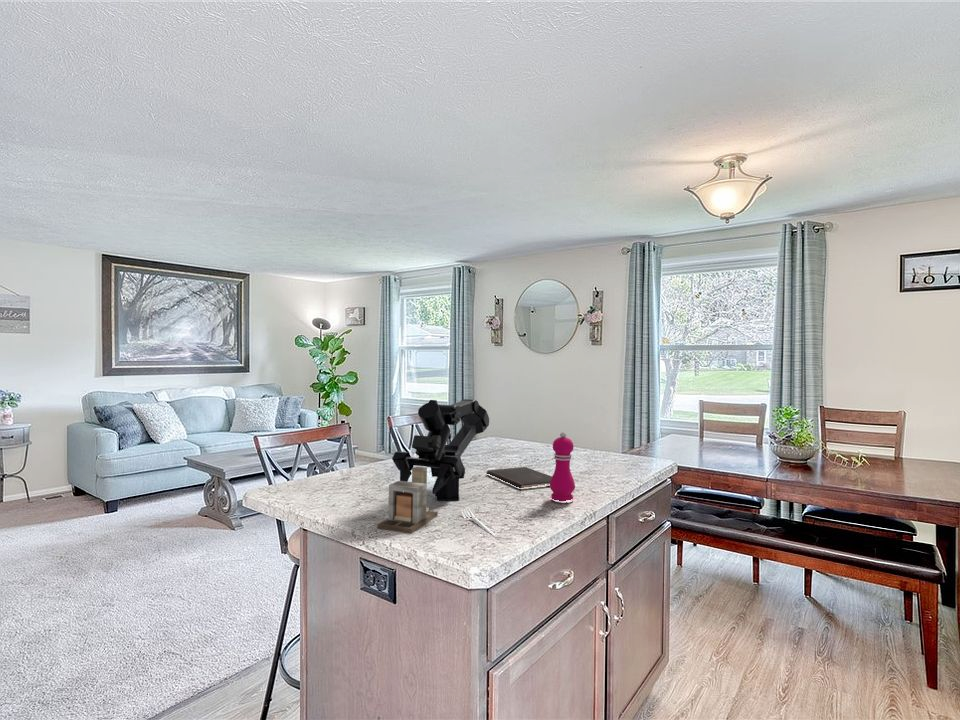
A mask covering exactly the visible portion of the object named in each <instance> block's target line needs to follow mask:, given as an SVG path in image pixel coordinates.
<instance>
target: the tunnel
mask: <svg viewBox="0 0 960 720" xmlns="http://www.w3.org/2000/svg"><path fill="white" fill-rule="evenodd" d="M427 487H428V485H427V484H424V483H415V482H412V481H407V482H406V481H400V480H398V481H395V482H393V483H390V484H389V485H388V508H387V509H388V513H387V515H388V516H387V517H388V518H386V519H383V520H382V521H380V522H378V523H377V527H376V528H377V529H381V530H386V531H387V530H388V531H393V530H394V532H401V533H407V534H409V533H410V534H412V533H414V532H415V531H417V530H418V529H420V528H421V527H423V526H424V525H426V524H427V523H429V522H431V521H432V520H434V519H435V518H437V517H438V514H439V513H438V511H433V510H429V511H428V512H426V507H427V489H428V488H427ZM403 492H410V493H413V520H412V521H411V522H407V521H400V520H394V516H396V501H397V495H399V494H401V493H403Z"/></svg>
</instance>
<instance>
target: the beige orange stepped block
mask: <svg viewBox="0 0 960 720" xmlns="http://www.w3.org/2000/svg"><path fill="white" fill-rule="evenodd" d="M411 473H412V474H411V482H415V483H424V484H427V482H428V481H427V479H428V467H426V466H414V467H413V468H412V470H411ZM429 509H430V508H429V507H427V506H426V512H428V511H430V510H429ZM394 520H400V521H407V522H411V521H412V520H413V493H410V492H403V493H401V494H399V495H397V501H396V516H394Z"/></svg>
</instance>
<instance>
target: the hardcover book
mask: <svg viewBox="0 0 960 720" xmlns="http://www.w3.org/2000/svg"><path fill="white" fill-rule="evenodd" d="M487 474H490V475H492V476H495V477H497V478H499V479H501V480H503V481H505V482H508V483H510V484H512V485H514V486H516V487H519V488H524V487H532V486H538V485H545V484H550V481H551V478H552V476H553V475H549V474H546V473H544V472H540V471H538V470H535V469H532V468H530V467H526V466H524V467H523V466H521V467H520V466H519V467H510V468H499V469H488V470H487V471H486V475H487Z"/></svg>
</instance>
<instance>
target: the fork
mask: <svg viewBox="0 0 960 720" xmlns="http://www.w3.org/2000/svg"><path fill="white" fill-rule="evenodd" d="M460 512H461V516H462V518H463V517H464V518H463V519H465V518H466V517H468V518H470V517H476V516H475V515H474V513H473V511H472V510H471V509H470V507H469V506H468V507H465V508H464V507H460ZM468 520H470V521H472V522H474V523H475V525H477V524H478V525H477V526H478V527H479V528H481V527H482V528H481V529H483V530H484V529H485V530H486V532H487V531H488V532H489V533H488V532H487V533H488V534H490V533H491V534H492V535H496V534H495V533H494V532H493V531H492V530H490V529H489V528H488V527H487V526H486V525H485V524H484V523H482V522H481V521H480V520H479V519H478V517H476V518H470V519H467V520H466V521H468ZM470 521H469V522H470ZM485 530H484V531H485ZM491 534H490V535H491ZM492 535H491V536H492Z"/></svg>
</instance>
